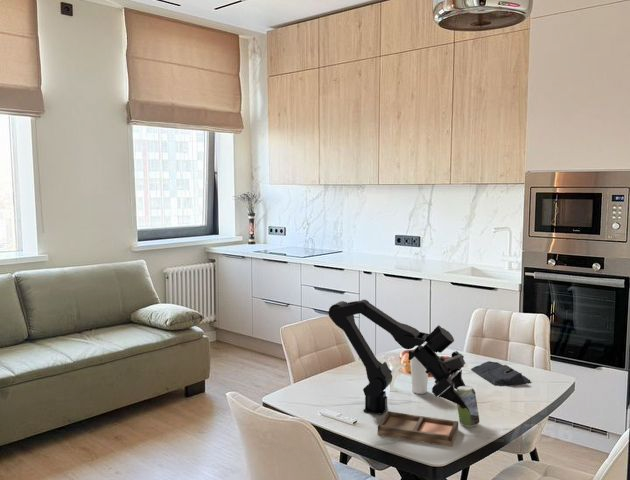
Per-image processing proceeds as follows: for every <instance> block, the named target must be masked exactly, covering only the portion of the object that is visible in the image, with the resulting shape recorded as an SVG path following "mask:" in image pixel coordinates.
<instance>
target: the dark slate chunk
mask: <svg viewBox="0 0 630 480" xmlns="http://www.w3.org/2000/svg"><path fill="white" fill-rule="evenodd" d="M470 371H471V372H473V373H475V374H476V375H478V376H479V377H480V378H482V379H483V380H484V381H487V382H489V383H490V384H491V385H493V386H495V387H496V386H498V387H507V386H511V387H513V386H521V385H525V384H526V385H527V384H529V383H531V380H530V379H529V378H528V377H526V376H525V375H523V374H522V372H519V371H517V370H515V369H514V368H512V367H510V366H509V365H507V364H502V363H500V362H497V361H490V360H489V361H486V362H483V363H481V364H480V365H475V366H473V367H472V368H471V369H470Z"/></svg>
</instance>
